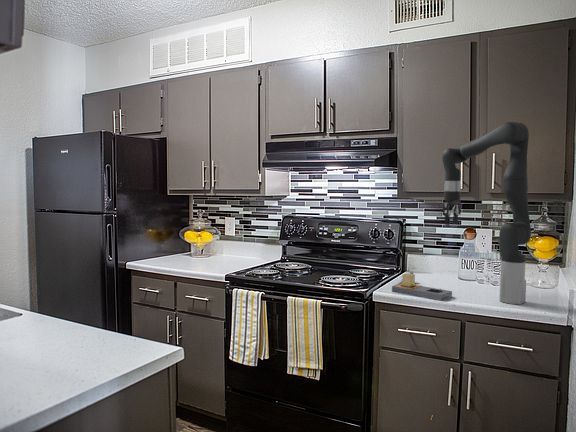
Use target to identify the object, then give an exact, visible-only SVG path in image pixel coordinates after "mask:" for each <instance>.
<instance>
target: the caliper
mask: <svg viewBox="0 0 576 432" xmlns="http://www.w3.org/2000/svg"><path fill="white" fill-rule="evenodd" d="M409 274H414V270H410V271H409ZM401 283H402V279H401V280H400V281H398V282H396V283H395V284H394V285H397V284H401Z"/></svg>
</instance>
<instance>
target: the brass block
mask: <svg viewBox="0 0 576 432" xmlns="http://www.w3.org/2000/svg"><path fill="white" fill-rule="evenodd" d="M401 278H402V279H401V280H402V286H403V287H409V288H412V287H415V285H416V283H415V282H416V281H415V280H416V274H415V273H413V274H410V273H408V272H407V273H404V274H403V273H402V277H401Z"/></svg>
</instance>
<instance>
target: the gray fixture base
mask: <svg viewBox="0 0 576 432" xmlns="http://www.w3.org/2000/svg"><path fill="white" fill-rule="evenodd" d="M391 292H392V293H398V294H403V295H410V296H414V297H419V298H425V299H428V300H429V299H431V300H436V301H440V302H442V301H444V300H447V299H451V298H452V297H453V291H451V290H447V289H441V288H435V287H431V286H424V285H421V284H415V287H412V288H409V287H403V286H402V283H401V284H397V285H395V284H394V285H392V286H391Z"/></svg>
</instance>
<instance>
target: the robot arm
mask: <svg viewBox="0 0 576 432" xmlns="http://www.w3.org/2000/svg"><path fill="white" fill-rule="evenodd" d="M529 134H530V133H529V129H528V127H527V125H526V124H524V123H523V122H516V121H506V122H505V123H502V124H501V125H499V126H497V127H495V128H494V129H493V130H491V131H489V132H488V133H486V134H484V135H482V136H480V137H477V138H475V139H472V140H470V141H468V142H465V143H463V144H461V146H460V147H459V148H452V147H451V148H446V149H445V150H444V151H443V153H442V157H441V159H442V165H443V169H444V172H445V173H444V176H445V177H444V186H443V187H444V188H443V190H444V191H443V200H444V201H446V202H443V203H442V216H443V217H444V225H445V226H449V225H450V224H451V215H452V224H454V225H458V223H459V217H460V215H461V214H462V213H461V212H462V210H461V202H459V201H461V195H462V184H461V182H462V181H461V180H462V178H461V177H462V172H461V171H462V170H461V169H459V168H458V167H457V166H456V164H461V163H464V162H465V161H467V160H469V159H470V158H473V157H476V156H479V155H481V154H482V153H484V152H486V151H487V150H489V149H490V148H491V147H495V146H498V145H504V144H506V145H509V147H510V154H509V156H510V157H509V161H508V164H507V166H506V168H505V170H504V173H503V175H502V176H503V177H502V188H503V195H504V197H505V199H506V201H507V203H508V205H509V207H510V209H511V212H512V222H508V223H505V224H502V226H501V227H500V230H499V236H498V243H499V245H498V246H499V247H498V248H499V249H498V250H499V255H500V257H501V259H500V276H499V277H500V281H499V282H500V283H499V301H500V302H502V303H506V304H511V305H523V304H525V303H526V297H527V295H526V294H527V280H526V258H527V257H526V255H525V254H523V253H521V252H520V250H519V246H522V245H527V244H528V243H529V242H530V240H531V237H532V229H531V219H530V213H529V199H528V198H529V196H528V194H529V193H528V192H529V191H528V187H529V183H528V181H529V180H528V149H529V136H530V135H529Z"/></svg>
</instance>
